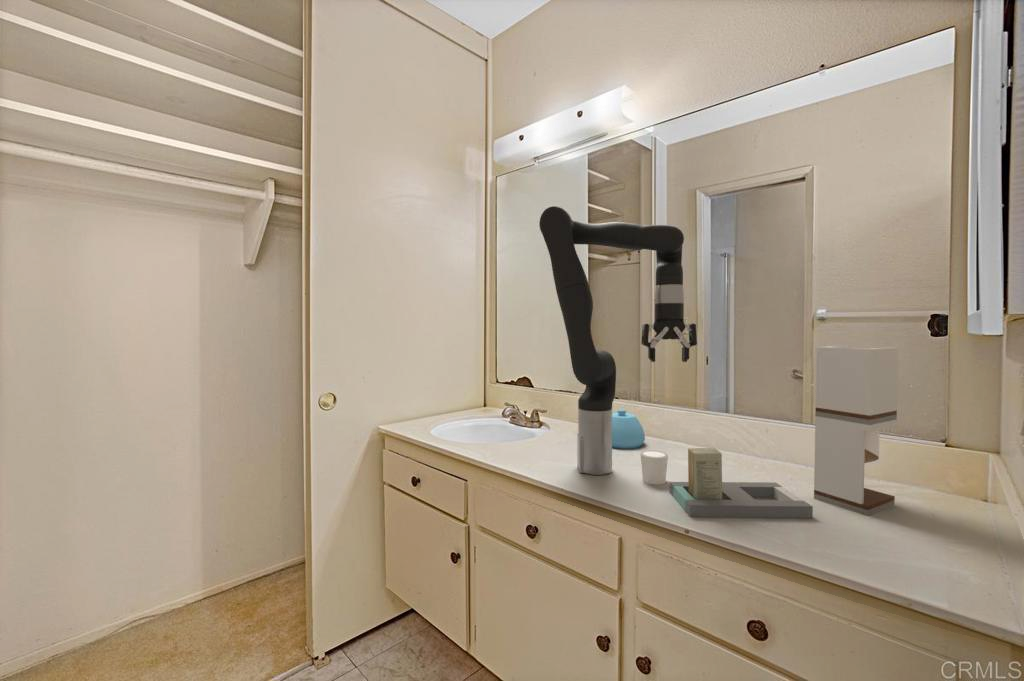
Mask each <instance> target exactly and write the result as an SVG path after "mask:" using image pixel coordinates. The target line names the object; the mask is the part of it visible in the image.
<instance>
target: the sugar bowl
mask: <svg viewBox="0 0 1024 681" xmlns="http://www.w3.org/2000/svg"><path fill="white" fill-rule="evenodd" d="M616 411H617V412H612V448H615V449H623V450H625V449H636V448H639V447H641V445H643V444H644V442H645V440H646V435H645V431H644V428H643V425H642V424H641V422H640V421H639V419H638V418H637V415H635V414H633V413H629V412H627V409H622V408H620V409H617V410H616Z"/></svg>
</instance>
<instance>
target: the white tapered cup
mask: <svg viewBox="0 0 1024 681" xmlns="http://www.w3.org/2000/svg"><path fill="white" fill-rule="evenodd" d="M640 461H641V474H642V481H643V482H644V483H647V484H650V485H663V484H664V485H665V483H666V480H667V472H668V471H667V470H668V461H669V455H668V453H666V452H663V451H661V450H659V451H658V450H643V451H641V452H640Z"/></svg>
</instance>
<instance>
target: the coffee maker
mask: <svg viewBox="0 0 1024 681" xmlns="http://www.w3.org/2000/svg"><path fill="white" fill-rule="evenodd" d="M815 361H816V364H815V365H816V366H815V367H816V369H815V370H816V373H815V374H816V375H815V422H814V423H815V424H814V426H815V427H814V467H813V468H814V472H813V473H814V474H813V477H814V480H813V499H814V500H818V501H820V502H824V503H826V504H829V505H833V506H837V507H839V508H842V509H845V510H848V511H851V512H855V513H857V514H861V515H863V516H867V517H868V516H870V515H873V514H876V513H878V512H880V511H884V510H886V509H889V508H891V507H893V506H895V503H896V502H895V499H896V497H895V496H894V495H891V494H889V493H885V492H881V491H878V490H873V489H870V488H867V487H865V464H868V463H872V462H875V461H879V459H880V458H879V457H880V430H883V429H888V428H892V427H897V418H898V416H897V414H898V382H899V380H898V378H899V377H898V375H899V347H894V346H892V347H874V348H868V347H867V348H866V347H865V348H864V347H862V348H860V347H859V348H858V347H852V348H851V347H849V345H829V346H817V347H816V360H815Z"/></svg>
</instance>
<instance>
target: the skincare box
mask: <svg viewBox="0 0 1024 681" xmlns="http://www.w3.org/2000/svg"><path fill="white" fill-rule="evenodd" d="M722 456H723V454H722V452H721V451H719V450H718V449H717V448H715V447H709V448H708V447H703V448H702V447H701V448H699V447H698V448H695V447H693V448H691V447H689V448H687V466H688V469H687V470H688V474H687V475H688V476H687V477H688V478H687V479H688V481H687V482H688V483H689V494H690V495H691V496H692V497H693V499H694V500H722V482H723V466H722V465H723V460H722Z"/></svg>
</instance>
